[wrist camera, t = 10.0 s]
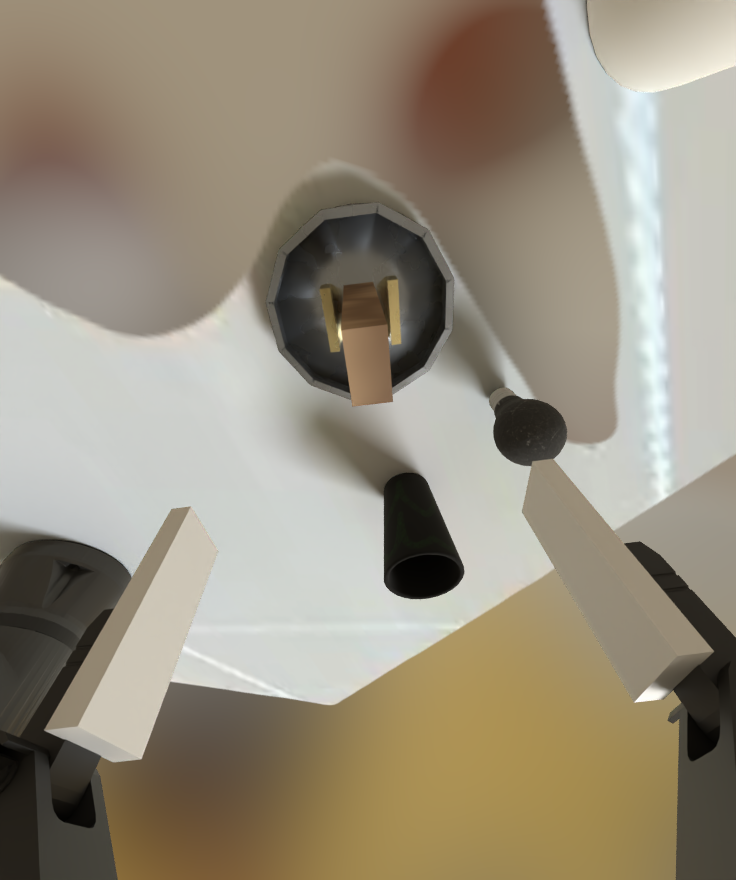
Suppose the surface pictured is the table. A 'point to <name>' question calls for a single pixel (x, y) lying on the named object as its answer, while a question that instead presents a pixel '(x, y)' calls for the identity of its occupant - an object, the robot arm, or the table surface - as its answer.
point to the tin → (352, 262)
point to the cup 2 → (662, 40)
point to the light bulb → (526, 428)
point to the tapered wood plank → (366, 345)
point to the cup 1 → (417, 541)
